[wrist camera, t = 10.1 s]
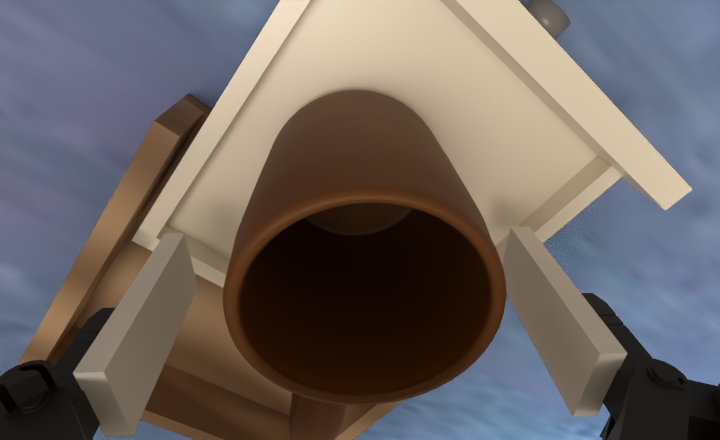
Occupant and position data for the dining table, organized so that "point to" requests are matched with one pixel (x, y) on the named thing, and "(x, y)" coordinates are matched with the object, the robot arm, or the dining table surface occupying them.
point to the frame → (200, 326)
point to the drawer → (430, 102)
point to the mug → (360, 263)
